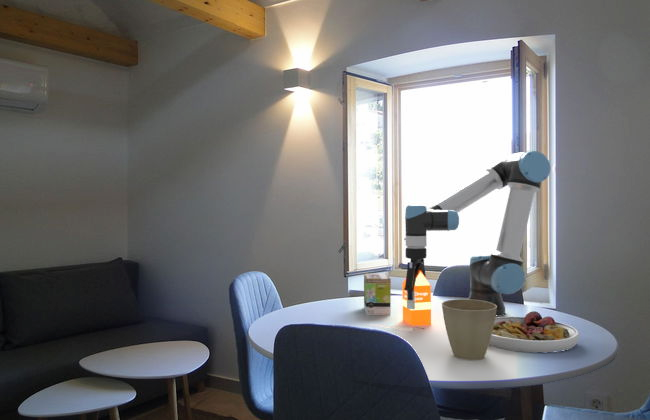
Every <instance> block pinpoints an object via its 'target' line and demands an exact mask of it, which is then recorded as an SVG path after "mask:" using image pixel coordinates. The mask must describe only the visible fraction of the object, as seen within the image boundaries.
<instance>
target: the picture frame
mask: <svg viewBox="0 0 650 420" xmlns="http://www.w3.org/2000/svg"><path fill="white" fill-rule="evenodd" d="M367 325H371V326H376V327H382V328H387V329H393V330H394V329H395V330H400V331H406V332H412V331H413V330H415V328H416V329H418V326H417V327H415V326H414V327H405V326H404V327H403V326H395V325H394V326H393V325H392V326H391V325H383V324H382V325H381V324H372V323H370V324H369V323H367ZM420 329H422V330H424V329H425V327H420Z"/></svg>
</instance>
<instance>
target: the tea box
mask: <svg viewBox="0 0 650 420" xmlns="http://www.w3.org/2000/svg"><path fill="white" fill-rule="evenodd" d="M391 280H392V279H391V277H390V276H389V275H388V273H364V274H363V307H364V308H363V309H364V311H365V315H366V316H391V313H392V312H391V309H392V308H391V307H392V306H391V304H392V303H391V301H392V299H391V296H392V295H391V294H392V293H391V289H392V287H391V285H392V284H391V282H392V281H391Z"/></svg>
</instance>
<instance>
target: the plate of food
mask: <svg viewBox="0 0 650 420" xmlns="http://www.w3.org/2000/svg"><path fill="white" fill-rule="evenodd" d="M579 336H580V334H579V330H578V329H577V328H575V327H574V326H571V325H570V324H566V323H563V322H559V321H556V320H555V319H554V318H553V317H552V316H545V317H542V314H540V313H539V312H538V311H530V312H528V313H527V314H525V316H497V317H495V322H494V327H493V332H492V335H491V339H490V342H489V346H492V347H495V348H499V349H503V350H507V349H508V351H512V350H514V351H513V352H519V351H523V352H522V353H529V352H554V351H562V350H567V349H570V348H571V349H573V348H574V347H575V346H576V345H577V343H578V342H579ZM572 347H573V348H572ZM571 349H570V350H571ZM567 351H568V350H567Z"/></svg>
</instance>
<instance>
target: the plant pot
mask: <svg viewBox="0 0 650 420" xmlns="http://www.w3.org/2000/svg"><path fill="white" fill-rule="evenodd" d="M441 309H442V313H443V315H442V316H443V321H444V325H445V330H446V334H447V335H446V336H447V338H448V341H449V345H450V347H451V350H452V351H451V352H452V353H453V356H454V357H455V358H457V359H461V360H466V361H480V360H483V359H484V358H485V356H486V354H487V351H488V348H489V346H490V345H489V342H490V339H491V335H492V332H493V327H494V322H495V318H496V317H497V316H496V310H497V306H496V305H495V304H493V303H490V302H487V301H481V300H472V299H469V298H467V299H466V298H465V299H464V298H462V299H461V298H460V299H448V300H444V301H443V302H441Z"/></svg>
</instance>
